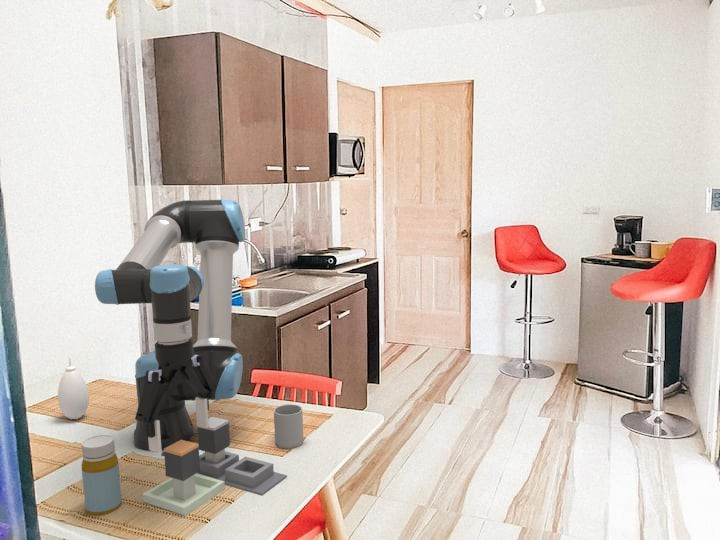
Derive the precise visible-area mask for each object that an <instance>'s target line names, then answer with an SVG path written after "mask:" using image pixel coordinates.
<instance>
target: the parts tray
mask: <svg viewBox="0 0 720 540" xmlns="http://www.w3.org/2000/svg"><path fill="white" fill-rule="evenodd" d="M194 477H195V492H196V493H195V494H194V495H192V496H191V497H189V498H188V499H186V500H182V499H179V498H176V497H174V493H173V480H172V478H171V477H169V478H167V479H165V480H164V481H162V482H160V483H159V484H157V485H156V486H153V487H152V488H150V489H149V490H146V491H145V492H143V493H142V502H143V503H146V504H148V505H151V506H155V507H158V508H160V509H163V510H166V511H169V512H172V513H175V514H179V515H181V516H184V517H186V516H188V515H189V514H190V513H192V512H193V511H195V510H196V509H198V508H199V507H201V506H202V505H203V504H205V503H207V502H209V500H212V498H214V497H215V496H217V495H218V494H220V493H221V492H223V491H224V490H226V485H225V482H224V481H221V480H217V479H214V478H211V477H207V476H204V475H200V474H197V473H196V474H194Z"/></svg>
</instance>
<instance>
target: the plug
mask: <svg viewBox="0 0 720 540" xmlns="http://www.w3.org/2000/svg"><path fill="white" fill-rule="evenodd" d="M163 452H164V456H163V457H164V468H165V469H164V470H165V476H166V477H169V478H172V480H173V493H174V497H176V498H179V499H182V500H186V499H188V498H189V497H191V496H192V495H194V494H195V493H196V492H195V477H194V474H196V473H198V472H199V471H200V459H199V456H200V450H199V444H198V443H196V442H192V441H185V440H180V441H178V442H176V443H174V444H172V445H170V446H168V447H166V448H164V449H163Z"/></svg>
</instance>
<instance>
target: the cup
mask: <svg viewBox="0 0 720 540" xmlns="http://www.w3.org/2000/svg"><path fill="white" fill-rule="evenodd" d="M303 415H304V414H303V407H302V406H300V405H298V404H282V405H279V406H276V407H274V408H273V423H274V425H273V427H274V442H275V445H276V446H277V447H279V448H281V449H287V450H288V449H294V448H298V447H300V446H301V445H303V443H304V419H303Z"/></svg>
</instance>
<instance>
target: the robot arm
mask: <svg viewBox="0 0 720 540" xmlns="http://www.w3.org/2000/svg"><path fill="white" fill-rule="evenodd" d="M245 240H246V228H245V221H244V216H243V212H242V208H241V205H240V203H239V202H238V201H237V200H233V199H224V198H221V199H201V200H200V199H199V200H197V199H196V200H195V199H194V200H188V199H187V200H185V199H184V200H180V201H176V202H173V203H171V204H168V205H167V206H164V207H163V208H161V209H159V210H158V211H156V212H155V213H153V215H152V216H151V217H150V218H149V219H148V220H147V221H146V223H145V224H144V231H143V234H141V236H140V237H139V239H138V240H137V241H136V243H135V244H134V245H133V247H132V248H131V249H130V250H129V252H128V253H127V255H126V256H125V257H124V259H122V261H121V263H120V264H119V265H118V266H117V268H116V269H113V268H112V269H111V268H109V269H105V270H101V271H99V272H97V275H96V277H95V280H94V281H95V282H94V291H95V296H96V298H97V300H98V301H99V302H100V303H102V304H103V305H116V306H119V305H134V304H135V305H136V304H151V309H152V326H153V340H154V341H155V344H154V350H153V351H150V352H148V353H145V354H142V355H141V356H140V357H138V358H137V360H136V361H135V363H134V366H135V370H134V371H135V373H134V374H135V375H134V378H135V384H136V385H135V386H136V397H137V407H138V408H137V410H136V413H135V421H136V424H135V429H134V430H133V437H132V438H133V443H134V445H135V447H137V448H139V449H141V450H147V451H151V452H155V453H162V452H163V451H164V448H166V447H168V446H170V445H172V444H174V443H176V442H178V441H180V440H185V441H188V442H190V441H191V440H192V439H193V437H194V435H195V431H194V429H195V428H194V424H193V422H192V420H191V417H190V414H189V413H188V410H187V407H186V401H195V416H196V427H197V426H198V427H203V428H208V427H209V423H208V419H209V410H210V404H209V402H210V401H220V400H231V399H233V398H234V397H236V396H237V394H238V392H239V389H240V386H241V382H242V375H243V370H244V369H243V368H244V367H243V366H244V365H243V363H244V362H243V361H244V360H243V359H244V358H243V355H242V354H241V353H239V352H237V350H238V349H237V345H235V344H234V343H233V342H232V313H233V311H232V310H233V305H232V304H233V303H232V302H233V300H232V299H233V273H234V272H233V270H234V269H233V265H234V264H233V263H234V254H235V253H236V252H238V251H239V249H240V248H239V246H240V243H242V242H245ZM185 243H186V244H187V243H188V244H189V243H195V245H194V247H195V249H196V250H197V251H198V252H199V253H200V261H199V262H200V264H199V265H200V268H199V269H198V268H196V267H194V266H191V265H184V264H177V263H176V264H175V263H170V264H169V263H168V264H162V262H163V261H164V259H165V258H166V256H167V254H168V253H169V252H170V249H173V248H175V247H176V246H177V245H179V244H185ZM197 298H198V314H197V315H198V321H197V323H198V324H197V340H196V342H195V343H194V341H193V339H191V338H192V337H193V329H192V326H193V325H192V314H191V313H192V312H191V311H192V310H191V302H192V301H193V300H195V299H197Z"/></svg>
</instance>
